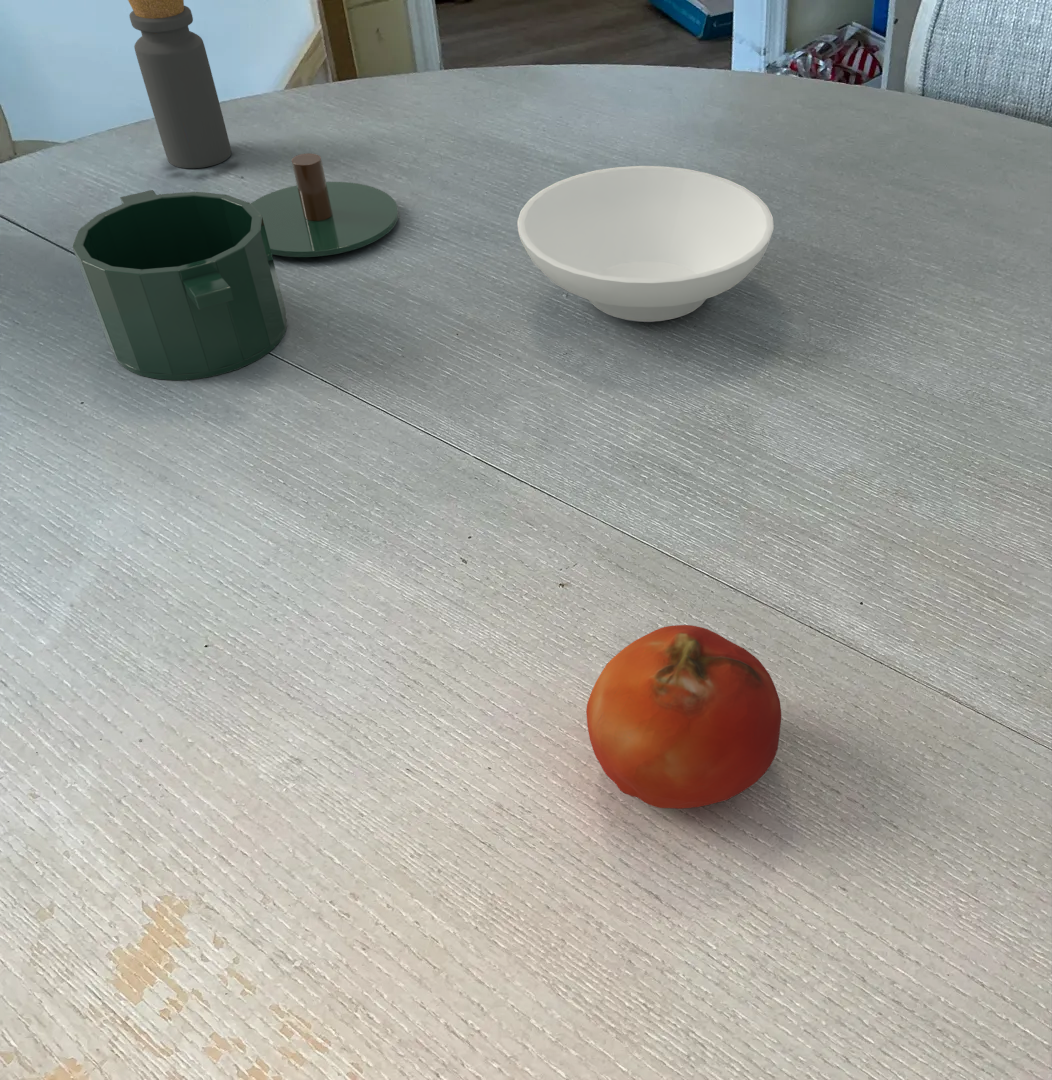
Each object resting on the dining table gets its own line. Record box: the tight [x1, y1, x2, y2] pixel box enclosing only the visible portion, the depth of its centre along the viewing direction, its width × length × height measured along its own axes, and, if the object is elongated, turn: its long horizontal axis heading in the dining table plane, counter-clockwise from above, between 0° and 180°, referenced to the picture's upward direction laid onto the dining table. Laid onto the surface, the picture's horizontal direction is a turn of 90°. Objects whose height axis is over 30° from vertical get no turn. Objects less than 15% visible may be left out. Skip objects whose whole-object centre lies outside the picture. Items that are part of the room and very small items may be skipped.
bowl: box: [516, 165, 775, 323], centre depth 92 cm, size 20×20×7 cm
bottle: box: [127, 0, 232, 169], centre depth 107 cm, size 6×6×15 cm
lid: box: [250, 152, 400, 258], centre depth 100 cm, size 13×13×6 cm
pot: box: [72, 189, 288, 381], centre depth 86 cm, size 12×18×8 cm
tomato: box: [585, 624, 782, 810], centre depth 57 cm, size 9×9×8 cm
